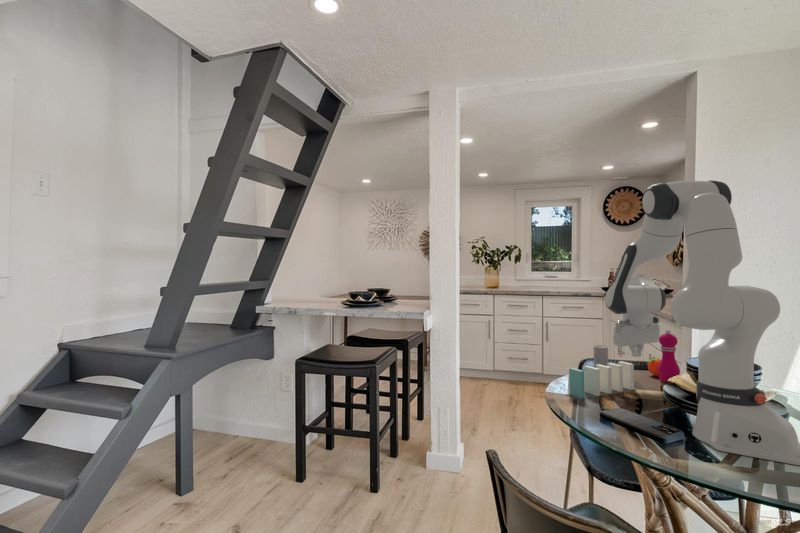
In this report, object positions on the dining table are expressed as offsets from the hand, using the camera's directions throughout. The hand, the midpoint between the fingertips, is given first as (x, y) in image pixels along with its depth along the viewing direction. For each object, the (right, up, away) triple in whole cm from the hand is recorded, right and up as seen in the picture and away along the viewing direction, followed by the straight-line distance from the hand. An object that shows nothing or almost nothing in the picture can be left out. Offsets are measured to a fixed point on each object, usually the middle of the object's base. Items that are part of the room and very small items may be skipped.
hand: (636, 356), depth 153 cm
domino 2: (-21, -11, -9) cm, 25 cm away
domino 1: (-27, -11, -12) cm, 31 cm away
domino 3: (-16, -11, -7) cm, 20 cm away
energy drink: (-5, -12, +16) cm, 20 cm away
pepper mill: (+16, -11, +6) cm, 20 cm away
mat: (-16, -11, -7) cm, 21 cm away
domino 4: (-10, -11, -5) cm, 16 cm away
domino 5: (-5, -11, -3) cm, 12 cm away
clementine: (+16, -11, +15) cm, 25 cm away
